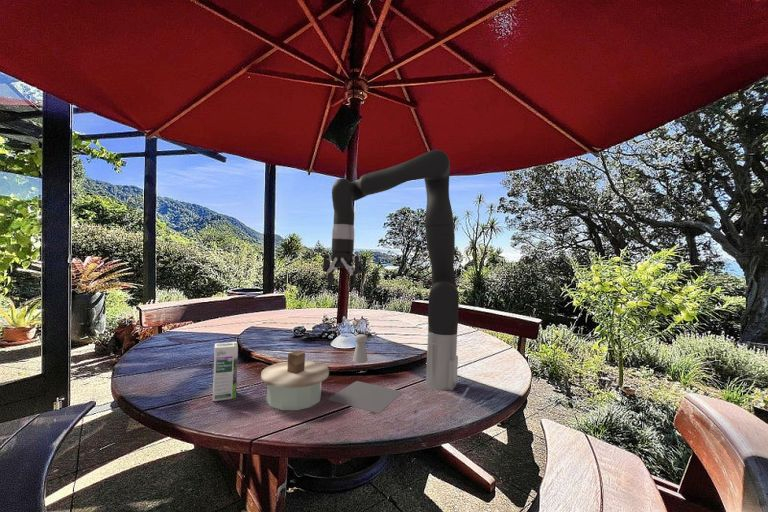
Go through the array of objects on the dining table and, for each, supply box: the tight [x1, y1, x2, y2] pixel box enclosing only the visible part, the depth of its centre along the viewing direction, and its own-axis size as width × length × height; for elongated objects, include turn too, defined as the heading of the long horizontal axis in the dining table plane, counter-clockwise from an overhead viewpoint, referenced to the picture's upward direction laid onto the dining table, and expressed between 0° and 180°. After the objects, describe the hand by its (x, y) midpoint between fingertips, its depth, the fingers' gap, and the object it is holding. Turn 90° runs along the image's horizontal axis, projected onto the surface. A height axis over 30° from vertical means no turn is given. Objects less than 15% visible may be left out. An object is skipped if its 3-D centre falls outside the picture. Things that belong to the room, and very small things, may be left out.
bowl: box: [266, 381, 323, 411], centre depth 91 cm, size 14×14×7 cm
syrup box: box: [212, 341, 239, 402], centre depth 92 cm, size 6×6×14 cm
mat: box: [326, 380, 403, 414], centre depth 95 cm, size 16×16×1 cm
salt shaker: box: [352, 333, 369, 374], centre depth 115 cm, size 6×6×13 cm
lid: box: [260, 350, 330, 388], centre depth 91 cm, size 18×18×6 cm
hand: (341, 285), depth 114 cm, fingers open, 8 cm apart
